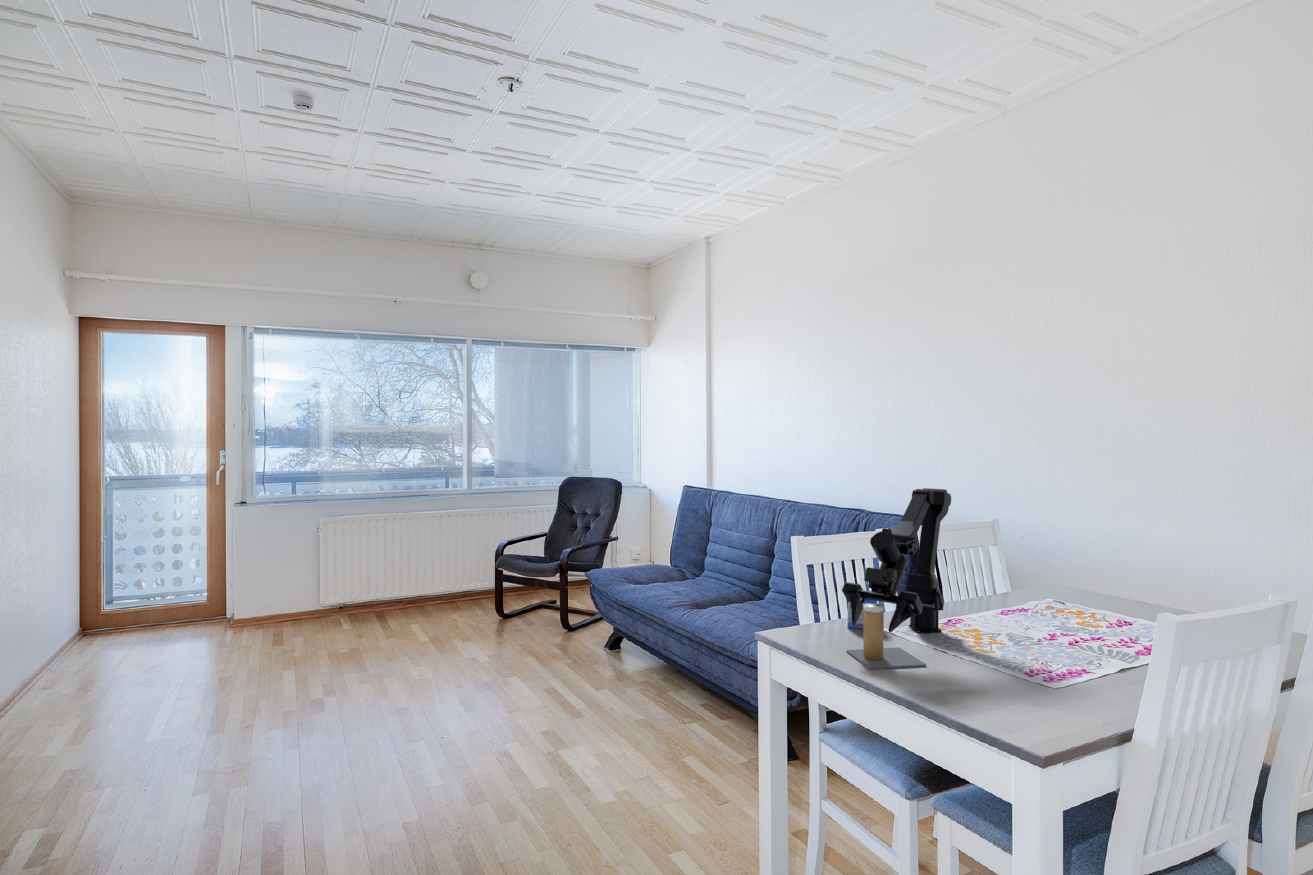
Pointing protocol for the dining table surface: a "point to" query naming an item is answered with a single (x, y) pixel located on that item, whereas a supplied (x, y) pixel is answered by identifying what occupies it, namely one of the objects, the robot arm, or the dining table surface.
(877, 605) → the pill bottle
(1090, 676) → the dining table surface
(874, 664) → the rubber mat
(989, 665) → the dining table surface
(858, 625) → the medicine box
